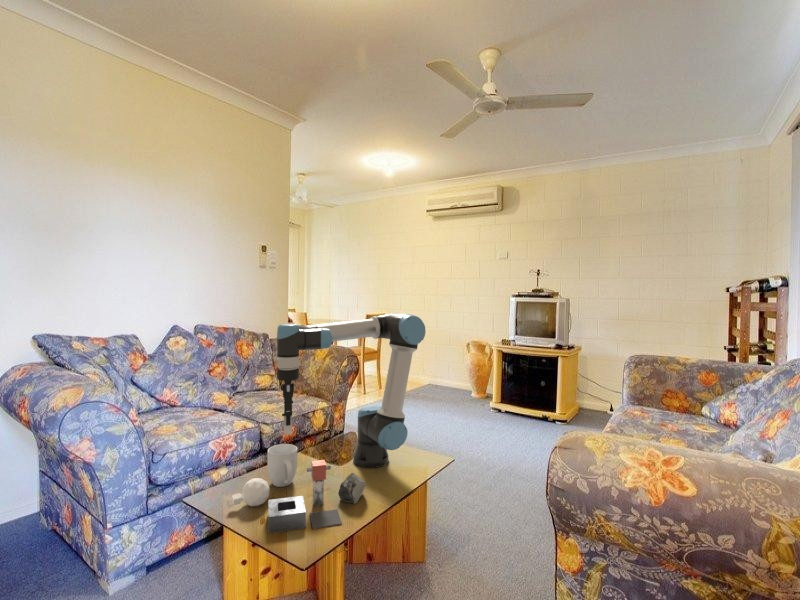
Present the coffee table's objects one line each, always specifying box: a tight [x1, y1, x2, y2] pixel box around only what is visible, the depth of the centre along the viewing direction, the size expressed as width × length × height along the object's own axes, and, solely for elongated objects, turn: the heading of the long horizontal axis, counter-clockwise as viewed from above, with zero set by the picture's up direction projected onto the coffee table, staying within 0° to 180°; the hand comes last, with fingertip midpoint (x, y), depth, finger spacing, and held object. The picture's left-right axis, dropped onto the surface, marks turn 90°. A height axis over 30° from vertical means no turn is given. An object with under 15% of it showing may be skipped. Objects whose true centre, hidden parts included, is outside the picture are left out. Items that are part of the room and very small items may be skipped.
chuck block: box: [267, 495, 307, 534], centre depth 136 cm, size 11×11×5 cm
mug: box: [266, 443, 298, 488], centre depth 161 cm, size 15×11×13 cm
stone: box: [337, 472, 367, 504], centre depth 151 cm, size 10×10×10 cm
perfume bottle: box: [231, 477, 270, 507], centre depth 146 cm, size 9×9×12 cm
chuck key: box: [306, 459, 332, 507], centre depth 148 cm, size 8×4×14 cm, turn 107°
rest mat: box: [309, 509, 342, 530], centre depth 138 cm, size 9×9×1 cm
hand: (287, 428), depth 152 cm, fingers open, 13 cm apart
